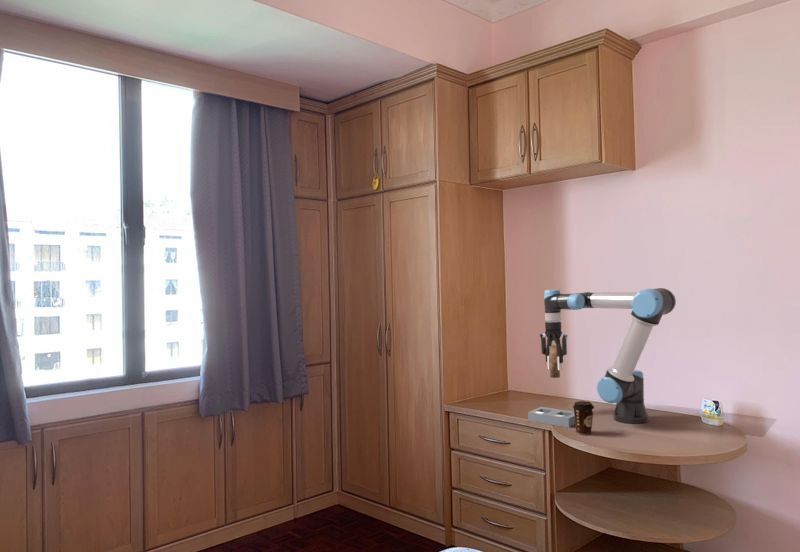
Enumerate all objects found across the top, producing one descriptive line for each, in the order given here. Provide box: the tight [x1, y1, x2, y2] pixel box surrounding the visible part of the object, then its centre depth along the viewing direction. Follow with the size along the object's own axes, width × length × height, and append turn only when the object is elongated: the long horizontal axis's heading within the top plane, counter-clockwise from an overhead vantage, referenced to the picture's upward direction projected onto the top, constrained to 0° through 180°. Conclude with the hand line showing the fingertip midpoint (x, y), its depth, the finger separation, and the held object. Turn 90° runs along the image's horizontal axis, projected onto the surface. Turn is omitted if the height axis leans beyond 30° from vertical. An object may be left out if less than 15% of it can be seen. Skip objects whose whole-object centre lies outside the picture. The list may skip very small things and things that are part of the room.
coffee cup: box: [572, 400, 595, 436], centre depth 246 cm, size 9×8×13 cm
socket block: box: [527, 406, 576, 428], centre depth 267 cm, size 13×20×4 cm, turn 49°
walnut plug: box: [549, 345, 561, 379], centre depth 281 cm, size 5×5×15 cm
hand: (554, 369), depth 281 cm, fingers closed on walnut plug, 5 cm apart
